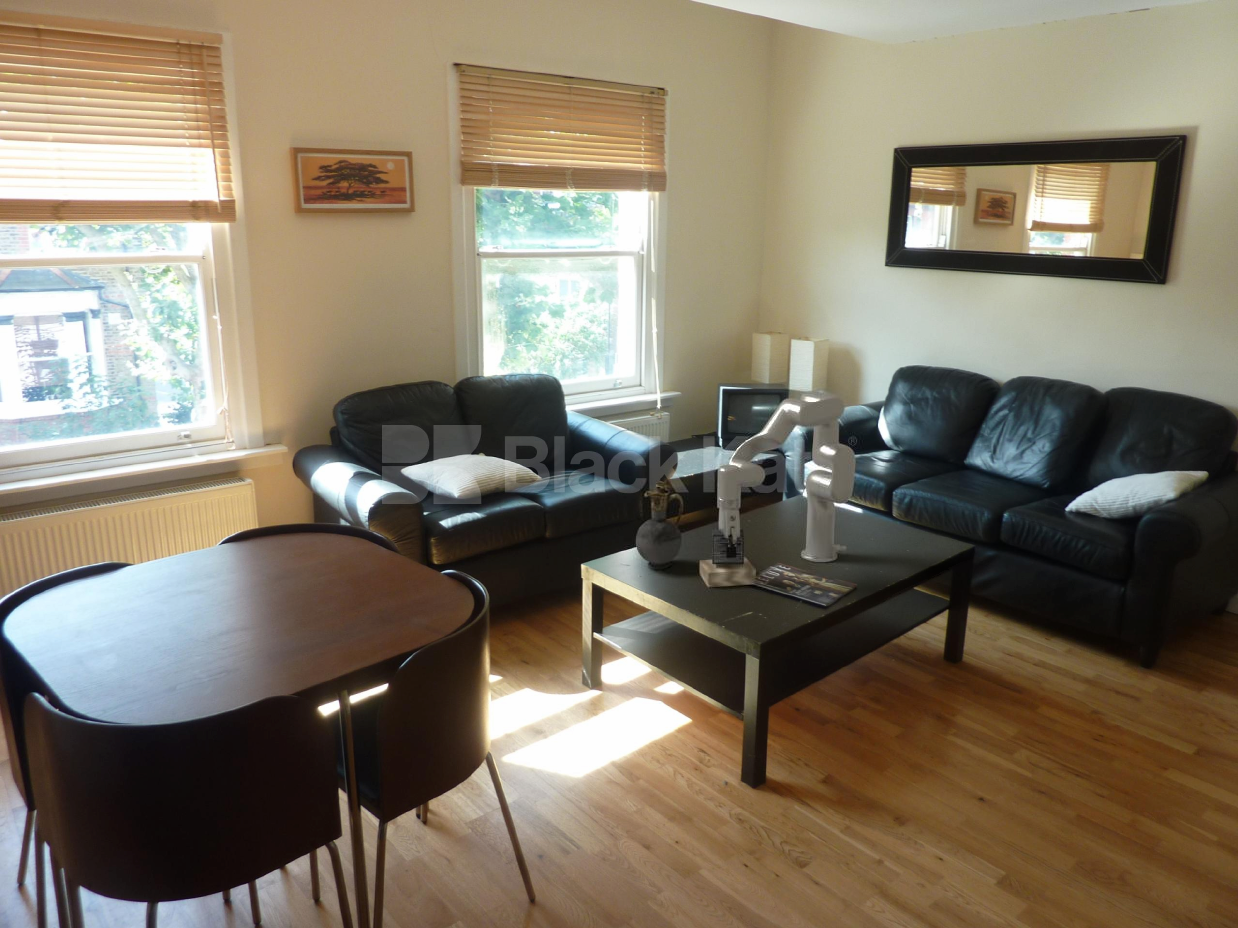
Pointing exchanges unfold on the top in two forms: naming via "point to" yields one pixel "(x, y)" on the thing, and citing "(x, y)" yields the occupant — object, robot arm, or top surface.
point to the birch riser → (727, 573)
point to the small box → (720, 548)
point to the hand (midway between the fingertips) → (727, 553)
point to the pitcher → (659, 530)
